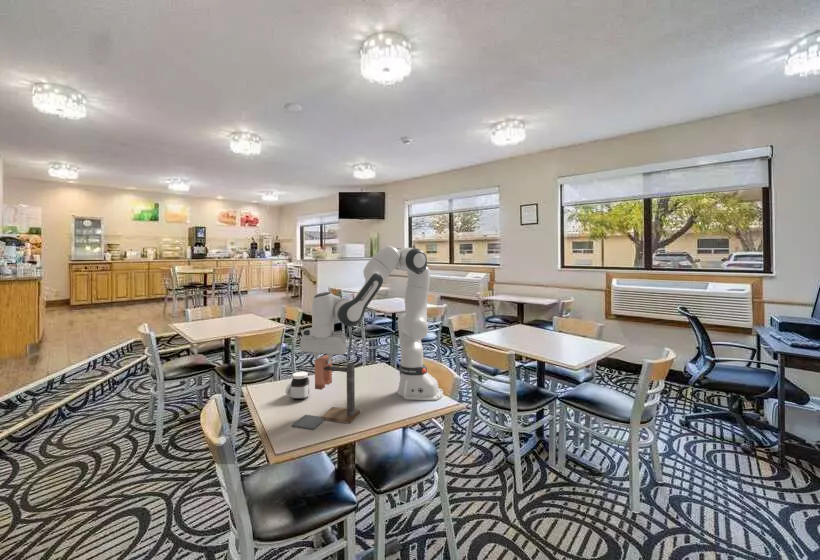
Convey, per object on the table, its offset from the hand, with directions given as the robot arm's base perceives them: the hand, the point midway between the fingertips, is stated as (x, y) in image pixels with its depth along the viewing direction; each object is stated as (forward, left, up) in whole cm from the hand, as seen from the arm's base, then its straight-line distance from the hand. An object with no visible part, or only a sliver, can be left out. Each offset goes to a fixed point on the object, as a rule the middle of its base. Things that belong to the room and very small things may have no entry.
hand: (323, 363), depth 152 cm
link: (0, 0, -10) cm, 10 cm away
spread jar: (+22, -13, -22) cm, 34 cm away
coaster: (+2, +9, -22) cm, 24 cm away
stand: (-5, 0, -22) cm, 23 cm away
